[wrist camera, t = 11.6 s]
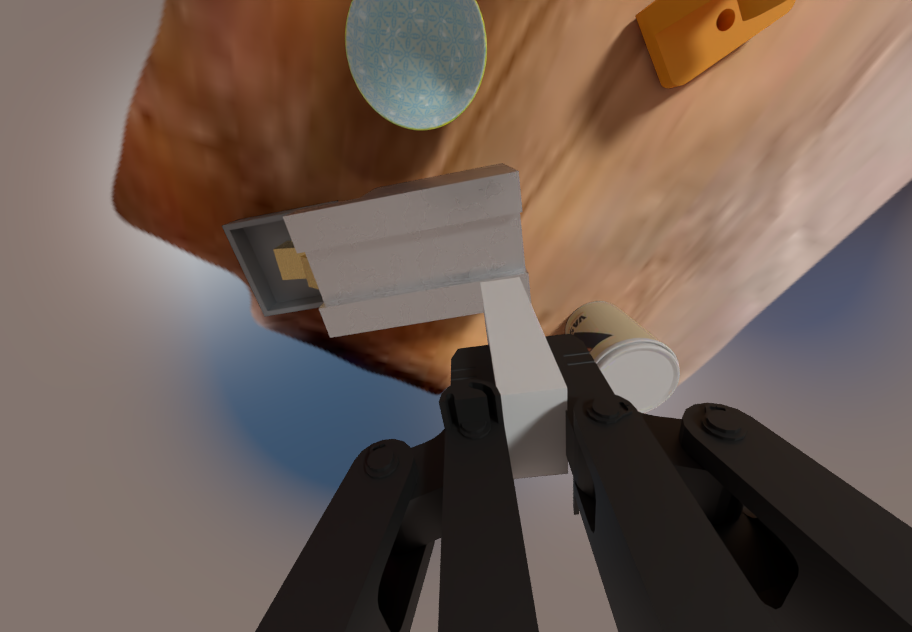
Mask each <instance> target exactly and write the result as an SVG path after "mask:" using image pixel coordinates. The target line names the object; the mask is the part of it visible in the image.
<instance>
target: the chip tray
mask: <svg viewBox="0 0 912 632" xmlns="http://www.w3.org/2000/svg"><path fill="white" fill-rule="evenodd" d="M337 202H338V200H337V201H332V202H327V203H322V204H317V205H311V206H306V207H301V208H296V209H291V210H286V211H281V212H275V213H270V214H265V215H260V216H255V217H250V218H245V219H239V220H236V221H233V222H230V223H228V224H225V225H222V227H223V229H224V232H225V234H226V236H227V238H228V240H229V242H230V244H231V246H232V248H233V251H234V253H235V255H236V257H237V259H238V261H239V263H240V265H241V267H242V270H243V272H244V274H245V276H246V278H247V280H248V282H249V284H250V287H251V289H252V291H253V293H254V295H255V297H256V299H257V301H258V303H259V306H260V308H261V310H262V312H263V314H264V316H271V315H277V314H283V313H289V312H294V311H300V310H306V309H312V308H318V307H320V306H321V305H322V304H323V303H324V301H323V299H322V296H321V293H320V291H319V289H316V288H312V287H309V286H308V282H307V279H306V278H305V279H291V280H282V276H281V273H280V270H279V267H278V263H277V260H276V257H275V254H274V251H273V249H275V248H276V247H278V246H279V245H281V244H283V243H284V242H286V241H292V239H291V237H290V234H289V232H288V229H287V227H286V224H285V222H284V219H283V216H285V215H287V214H290V213H292V212H294V211H296V210H301V209H306V208H311V207H316V206H321V205H327V204H332V203H337Z"/></svg>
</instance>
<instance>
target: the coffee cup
mask: <svg viewBox="0 0 912 632" xmlns="http://www.w3.org/2000/svg"><path fill="white" fill-rule="evenodd" d="M570 333H571V334H572V335H574V336H576V337H577V338H579V339H580V340H582V341H583V342H584V344H585V346H586V347H587V349H588V351H589V354H591V356H592V357H593V359H594V362H596V364H597V365H598V367H599V369H600V370H601V372H602V374H603V375H604V377H605V379H606V380H607V382H608V384H609V385H610V387H611V389H612V390H613V392H614V394H615V395H619V396H621V397H622V398H624V399H626V400H628V401H630V402H631V403H632V404H633V406H634V407H635V408H636V409H637V410H638V412H641V413H645V412H648V411H651V410H652V409H655V408H656V407H658V406H659V405H661V404H662V403H664V402H665V401H666V400H667V399H668V398H669V397H670V396H671V395H672V393H673V392H674V390H675V389H676V387H677V384H678V381H679V376H680V370H679V363H678V360H677V357H676V356H675V354H674V353H673V351H672V350H671V349H670V348H669V347H667V346H666V345H665V344H663V343H661V342H660V341H658V340H657V339H656V338H655V337H654V336H653V335H651V334H650V333H649V332H648V331H646V330H645V329H644V328H643V327H642V326H640V325H639V324H638V323H637V322H635V321H634V320H633V319H632V318H630V317H629V316H628V315H627V314H625V313H624V312H623V311H622V310H620V309H619V308H618V307H616V306H615V305H613V304H611V303H608V302H603V301H597V302H591V303H587V304H585V305H583V306H581V307H579V308H578V309H577V310H575V311H574V312H573V314H572V315H571V316H570V318H569V319H568V321H567V324H566V329H565V334H570Z"/></svg>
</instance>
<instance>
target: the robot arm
mask: <svg viewBox="0 0 912 632" xmlns="http://www.w3.org/2000/svg"><path fill="white" fill-rule="evenodd" d="M480 285H481V293H482V301H483V309H484V317H485V324H486V332H487V340H488V345H484V346H476V347H468V348H460V349H458V350H457V351H456V353H455V354H454V356H453V357H452V359H451V386H449V387H448V388H447V389H446V390H445V391H444V392H443V393H442V394H441V397H440V400H439V405H440V409H441V414H442V418H443V423H444V427H445V429H444V430H443V431H442V432H441V433H440V434H439V435H437V436H436V437H435V438H433V439H432V440H429V441H427V442H425V443H423V444H420V445H418V446H415V447H412V448H410V446H408V445H407V444H406V443H405V442H403V441H400V440H396V439H389V440H382V441H379V442H376V443H373V444H371V445H370V446H369V447H367V448H366V449H364V450H363V451H362V452H361V453H360V454H359V455H358V457H357V458H356V459H355V460H354V462H353V464H352V465H351V467H350V469H349V471H348V472H347V474H346V476H345V478H344V479H343V481H342V483H341V484H340V486H339V488H338V490H337V491H336V493H335V495H334V497H333V498H332V500H331V502H330V503H329V505H328V507H327V509H326V510H325V512H324V514H323V516H322V517H321V519H320V521H319V522H318V524H317V526H316V528H315V529H314V531H313V533H312V535H311V536H310V538H309V540H308V541H307V543H306V545H305V547H304V548H303V550H302V552H301V553H300V555H299V557H298V559H297V560H296V562H295V564H294V566H293V567H292V569H291V571H290V572H289V574H288V576H287V578H286V579H285V581H284V583H283V585H282V586H281V588H280V590H279V591H278V593H277V595H276V597H275V598H274V600H273V602H272V604H271V605H270V607H269V609H268V611H267V612H266V614H265V616H264V617H263V619H262V621H261V623H260V624H259V626H258V628H257V629H256V631H255V632H410V629H411V625H412V622H413V618H414V615H415V611H416V607H417V604H418V600H419V597H420V593H421V590H422V586H423V582H424V579H425V575H426V572H427V568H428V564H429V561H430V557H431V554H432V550H433V546H434V542H435V540H437V539H439V538H441V563H440V564H441V565H440V592H439V593H440V594H439V621H438V632H539V630H538V624H537V618H536V612H535V606H534V600H533V595H532V588H531V582H530V576H529V570H528V564H527V558H526V553H525V546H524V540H523V534H522V528H521V522H520V516H519V510H518V504H517V498H516V492H515V486H514V480H513V479H518V478H528V477H538V476H548V475H558V474H567V473H568V462H569V465H570V468H571V471H572V474H573V508H574V515H576V514H579V511H580V514H581V517H582V520H583V523H584V526H585V529H586V533H587V535H588V539H589V542H590V545H591V548H592V551H593V554H594V557H595V561H596V563H597V567H598V570H599V573H600V576H601V579H602V582H603V585H604V589H605V592H606V595H607V598H608V601H609V604H610V607H611V610H612V613H613V617H614V620H615V623H616V626H617V629H618V632H912V528H911V527H910V526H908V525H907V524H906V523H904V522H903V521H901V520H900V519H898V518H897V517H895V516H894V515H893V514H891V513H890V512H888V511H887V510H885V509H884V508H882V507H881V506H879V505H878V504H877V503H875V502H874V501H872V500H871V499H869V498H868V497H866V496H865V495H864V494H862V493H861V492H859V491H858V490H856V489H855V488H854V487H852V486H851V485H849V484H848V483H846V482H845V481H843V480H842V479H841V478H839V477H838V476H836V475H835V474H833V473H832V472H830V471H829V470H828V469H826V468H825V467H823V466H822V465H820V464H819V463H817V462H816V461H815V460H813V459H812V458H810V457H809V456H807V455H806V454H804V453H803V452H802V451H800V450H799V449H797V448H796V447H794V446H793V445H791V444H790V443H788V442H787V441H786V440H784V439H783V438H781V437H780V436H778V435H777V434H775V433H774V432H772V431H771V430H770V429H768V428H767V427H765V426H764V425H762V424H761V423H760V422H758V421H757V420H755V419H754V418H752V417H751V416H749V415H747V414H745V413H743V412H741V411H740V410H738V409H735V408H732V407H728V406H725V405H722V404H714V403H702V404H695V405H693V406H691V407H689V408H687V409H686V411H685V413H684V415H683V417H682V419H676V418H667V417H659V416H653V415H648V414H644V413H641V412H638V410H637V409H636V408H635V407H634V406H633V404H632V403H631V402H630V401H628V400H626V399H624V398H622V397H621V396H619V395H615V394H614V392H613V390H612V389H611V387H610V385H609V384H608V382H607V380H606V379H605V377H604V375H603V374H602V372H601V370H600V369H599V367H598V365H597V364H596V362H594V359H593V357H592V356H591V354H589V351H588V349H587V347H586V346H585V344H584V342H583V341H582V340H580V339H579V338H577V337H576V336H574V335H572V334H571V333H570V334H562V335H554V336H546V337H545V335H544V333H543V331H542V328H541V326H540V324H539V321H538V319H537V317H536V314H535V312H534V310H533V308H532V305H531V303H530V301H529V298H528V296H527V294H526V291H525V289H524V287H523V284H522V282H521V280H520V277H516V278H509V279H502V280H495V281H488V282H480Z"/></svg>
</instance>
